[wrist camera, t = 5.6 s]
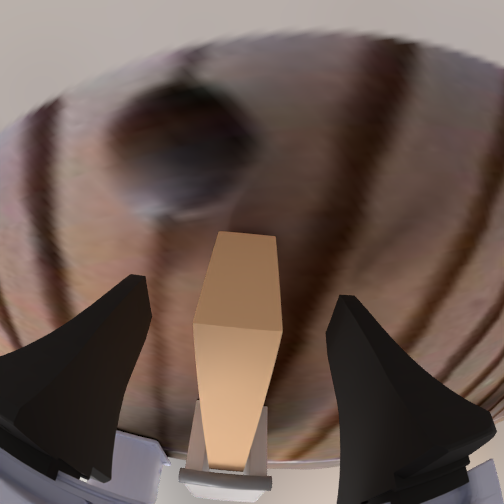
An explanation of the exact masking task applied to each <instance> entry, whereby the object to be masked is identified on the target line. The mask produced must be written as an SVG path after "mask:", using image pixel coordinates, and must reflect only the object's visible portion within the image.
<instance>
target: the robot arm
mask: <svg viewBox="0 0 504 504" xmlns="http://www.w3.org/2000/svg"><path fill="white" fill-rule="evenodd" d="M151 318H152V313H151V308H150V302H149V296H148V290H147V284H146V277H145V276H140V275H133V274H131V275H129V276H128V277H126V278H125V279H124V280H122V281H121V282H120V283H119V284H117V285H116V286H115V287H114V288H112V289H111V290H110V291H109V292H107V293H106V294H105V295H103V296H102V297H101V298H100V299H98V300H97V301H96V302H95V303H93V304H92V305H91V306H89V307H88V308H87V309H85V310H84V311H83V312H81V313H80V314H78V315H77V316H76V317H74V318H73V319H72V320H70V321H69V322H67V323H66V324H64V325H63V326H61V327H59V328H58V329H56V330H55V331H53V332H51V333H50V334H48V335H46V336H44V337H42V338H40V339H38V340H37V341H35V342H33V343H31V344H29V345H27V346H25V347H23V348H20V349H18V350H16V351H13V352H11V353H8V354H6V355H3V356H0V504H155V502H156V498H157V493H158V488H159V482H160V476H161V471H162V466H163V465H169V466H170V465H171V462H170V461H169V459H168V457H167V456H166V454H165V452H164V451H163V449H162V447H161V446H160V444H159V442H158V441H156V440H153V439H149V438H144V437H140V436H136V435H133V434H129V433H125V432H122V431H118V430H117V425H118V419H119V414H120V410H121V406H122V401H123V397H124V393H125V390H126V387H127V384H128V382H129V379H130V377H131V374H132V372H133V369H134V367H135V364H136V362H137V359H138V357H139V354H140V352H141V349H142V347H143V345H144V342H145V340H146V336H147V333H148V330H149V326H150V322H151ZM326 343H327V355H328V360H329V365H330V370H331V375H332V380H333V384H334V389H335V394H336V399H337V404H338V411H339V424H340V479H339V489H338V498H337V504H504V503H503V498H502V493H501V488H500V484H499V480H498V476H497V472H496V468H495V464H494V461H493V459H489V460H488V461H486V462H484V463H482V464H480V465H478V466H476V467H474V468H472V469H471V470H469V471H467V470H466V465H468V464H469V463H470V460H469V455H470V454H472V453H473V452H474V451H476V450H477V449H479V448H480V447H481V446H483V445H484V444H486V443H487V442H488V441H489V440H491V439H492V438H493V437H494V436H495V434H496V432H497V430H496V428H495V425H494V422H493V419H492V416H491V414H490V412H489V411H487V410H485V409H483V408H481V407H479V406H477V405H475V404H473V403H471V402H469V401H468V400H466V399H464V398H463V397H461V396H459V395H458V394H456V393H455V392H453V391H452V390H450V389H449V388H447V387H446V386H444V385H443V384H442V383H440V382H439V381H438V380H436V379H435V378H434V377H432V376H431V375H430V374H429V373H428V372H426V371H425V370H424V369H423V368H422V367H421V366H420V365H418V364H417V363H416V362H415V361H414V360H413V359H412V358H411V357H410V356H409V355H408V354H407V353H406V352H405V351H404V350H403V349H402V348H401V347H400V346H399V345H398V344H397V343H396V342H395V341H394V340H393V339H392V338H391V337H390V336H389V334H388V333H387V332H386V331H385V330H384V329H383V328H382V327H381V325H380V324H379V323H378V322H377V321H376V320H375V318H374V317H373V316H372V315H371V314H370V313H369V311H368V310H367V309H366V308H365V307H364V306H363V305H362V303H361V302H360V301H359V300H358V299H357V298H356V297H355V296H352V295H339V298H338V301H337V303H336V306H335V309H334V312H333V315H332V317H331V320H330V323H329V325H328V328H327V331H326ZM80 477H82V478H84V479H87V483H86V482H83V481H81V480H79V479H80Z"/></svg>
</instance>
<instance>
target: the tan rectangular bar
mask: <svg viewBox="0 0 504 504" xmlns="http://www.w3.org/2000/svg"><path fill="white" fill-rule="evenodd" d="M282 333H283V327H282V312H281V298H280V284H279V271H278V258H277V246H276V236H267V235H257V234H247V233H236V232H226V231H219V232H218V235H217V238H216V242H215V245H214V249H213V252H212V255H211V259H210V262H209V266H208V269H207V273H206V276H205V280H204V283H203V287H202V290H201V294H200V298H199V301H198V305H197V309H196V312H195V316H194V320H193V334H194V347H195V359H196V370H197V380H198V390H199V399H200V407H201V415H202V423H203V431H204V438H205V445H206V452H207V458H208V464H209V469H218V470H227V471H240V472H243V471H244V468H245V465H246V462H247V458H248V455H249V452H250V449H251V446H252V442H253V439H254V436H255V432H256V429H257V426H258V422H259V419H260V415H261V412H262V408H263V405H264V401H265V398H266V394H267V391H268V387H269V383H270V379H271V376H272V372H273V368H274V364H275V360H276V357H277V353H278V349H279V345H280V341H281V337H282Z"/></svg>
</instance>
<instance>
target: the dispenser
mask: <svg viewBox="0 0 504 504" xmlns="http://www.w3.org/2000/svg"><path fill="white" fill-rule="evenodd" d="M267 416H268V407H267V406H263V408H262V412H261V415H260V419H259V422H258V426H257V429H256V432H255V436H254V439H253V442H252V446H251V449H250V452H249V455H248V458H247V462H246V465H245V468H244V471H243V475H235V474H223V473H214V472H209V464H208V458H207V452H206V445H205V438H204V431H203V423H202V415H201V407H200V400H197V401H196V406H195V412H194V418H193V424H192V429H191V435H190V441H189V448H188V454H187V460H186V466H185V468H180V471H179V482H181V483H184V484H185V485H186V487H187V488H188V489H189V491H190V493H191V494H192V495H193V496H194V497H200V498H207V499H215V500H225V501H238V502H255V501H256V500H257V499H258V498H259V497H260V496H261V495H262V494H263V493H264V492H265V491H271V488H272V477H271V476H267Z"/></svg>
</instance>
